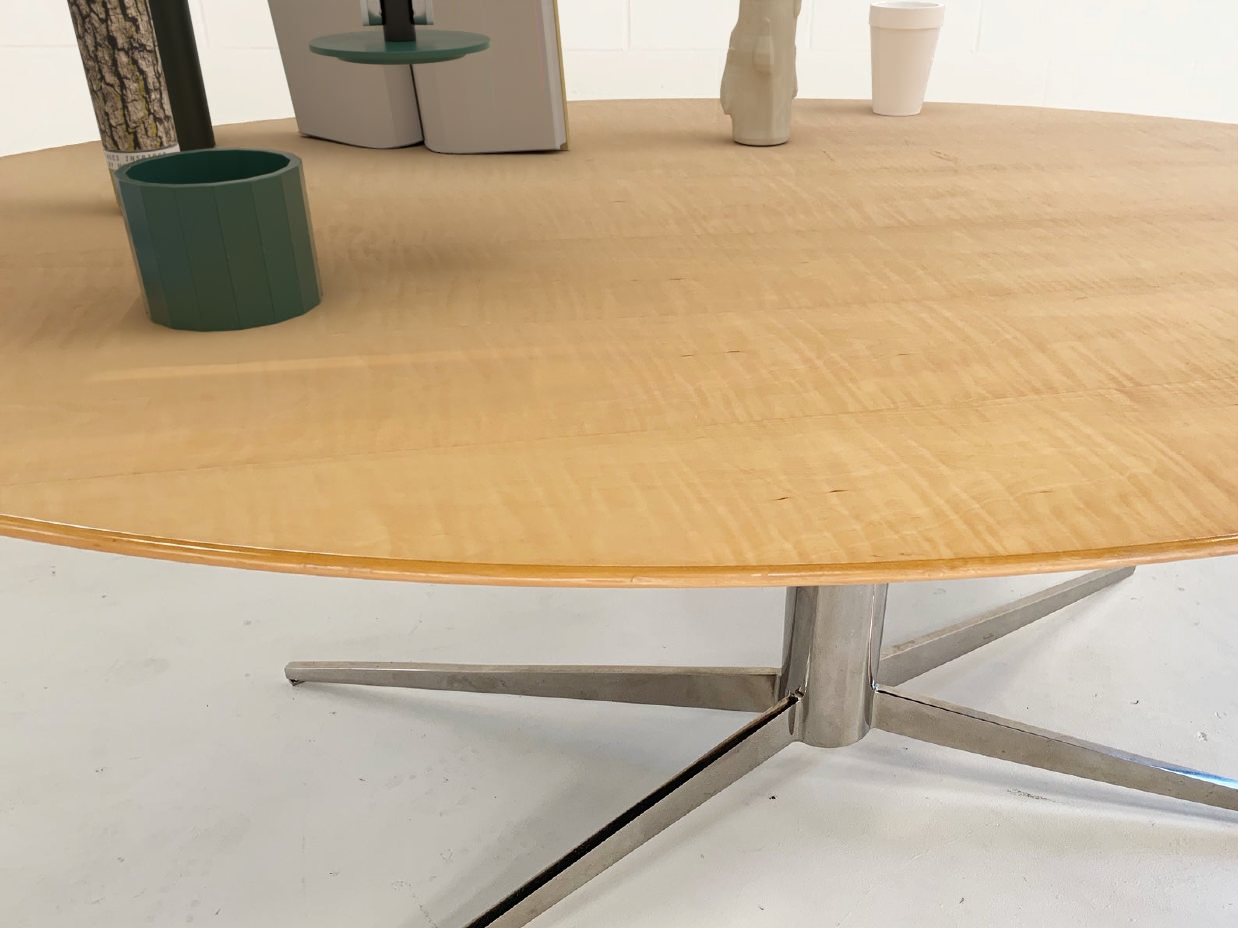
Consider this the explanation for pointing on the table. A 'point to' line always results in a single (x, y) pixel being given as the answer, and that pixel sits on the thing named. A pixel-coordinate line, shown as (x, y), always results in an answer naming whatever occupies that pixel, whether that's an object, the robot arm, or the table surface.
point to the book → (432, 80)
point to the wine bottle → (182, 73)
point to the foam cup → (902, 53)
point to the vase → (761, 71)
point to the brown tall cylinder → (124, 79)
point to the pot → (220, 237)
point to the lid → (399, 41)
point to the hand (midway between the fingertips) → (398, 24)
